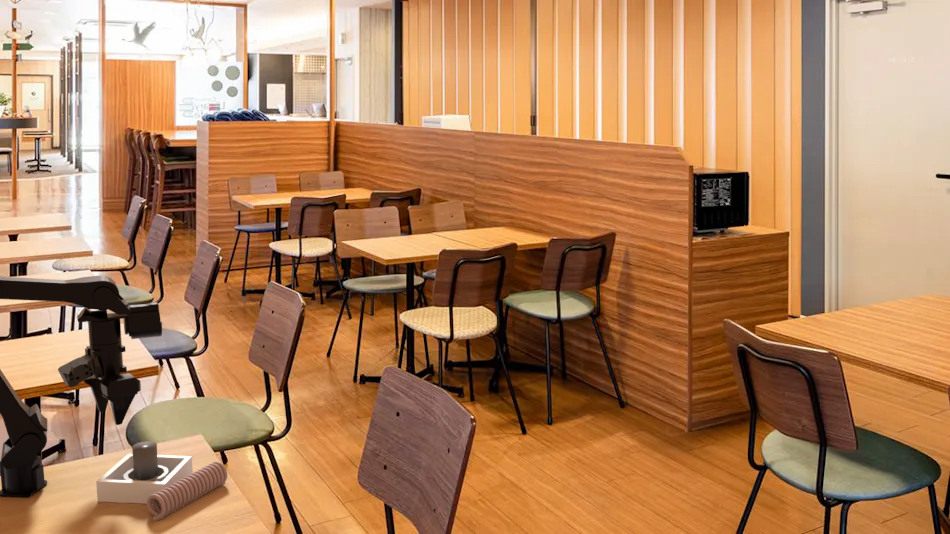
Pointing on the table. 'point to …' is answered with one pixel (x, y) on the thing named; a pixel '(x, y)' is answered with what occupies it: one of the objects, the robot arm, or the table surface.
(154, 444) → the plug
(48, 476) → the table surface
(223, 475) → the coil
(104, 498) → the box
